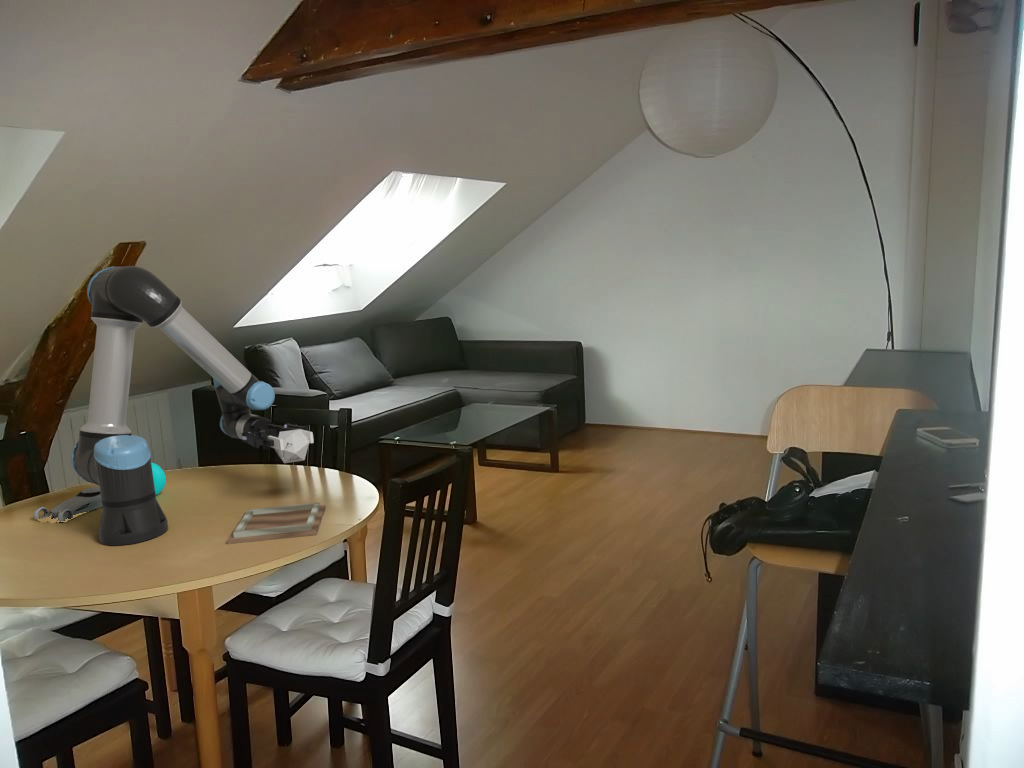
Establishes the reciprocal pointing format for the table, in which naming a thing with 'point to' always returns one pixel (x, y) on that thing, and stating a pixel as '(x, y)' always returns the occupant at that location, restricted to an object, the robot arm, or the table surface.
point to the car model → (74, 505)
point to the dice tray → (278, 522)
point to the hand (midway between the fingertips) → (297, 441)
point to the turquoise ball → (158, 478)
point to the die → (293, 446)
